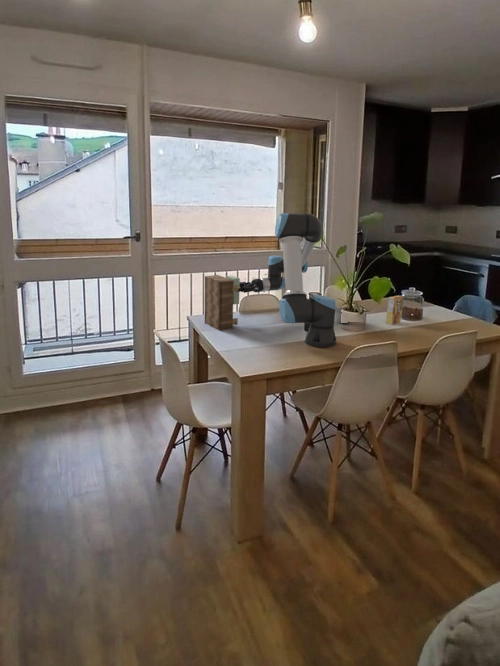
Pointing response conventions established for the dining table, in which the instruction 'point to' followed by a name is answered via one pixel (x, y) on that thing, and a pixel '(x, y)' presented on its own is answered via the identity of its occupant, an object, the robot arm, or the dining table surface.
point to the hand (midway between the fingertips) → (225, 288)
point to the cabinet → (219, 302)
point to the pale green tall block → (236, 294)
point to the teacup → (338, 314)
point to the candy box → (394, 309)
